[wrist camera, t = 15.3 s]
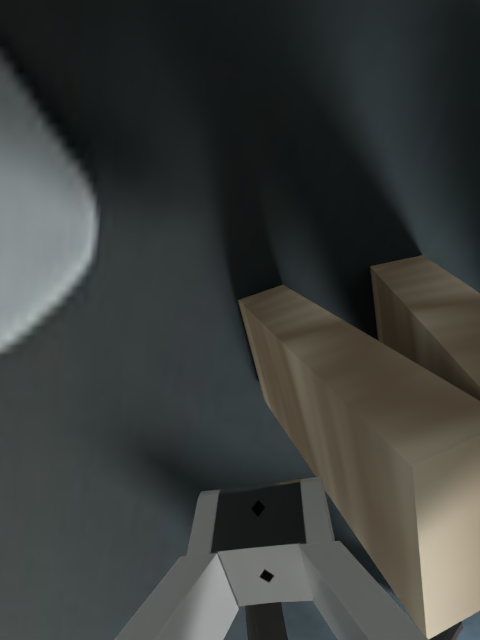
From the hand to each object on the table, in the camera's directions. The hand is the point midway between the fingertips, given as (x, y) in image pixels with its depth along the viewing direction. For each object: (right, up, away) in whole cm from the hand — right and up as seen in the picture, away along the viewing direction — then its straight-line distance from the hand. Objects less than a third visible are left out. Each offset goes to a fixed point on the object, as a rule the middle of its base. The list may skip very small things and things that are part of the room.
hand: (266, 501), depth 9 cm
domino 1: (+1, +3, +7) cm, 8 cm away
